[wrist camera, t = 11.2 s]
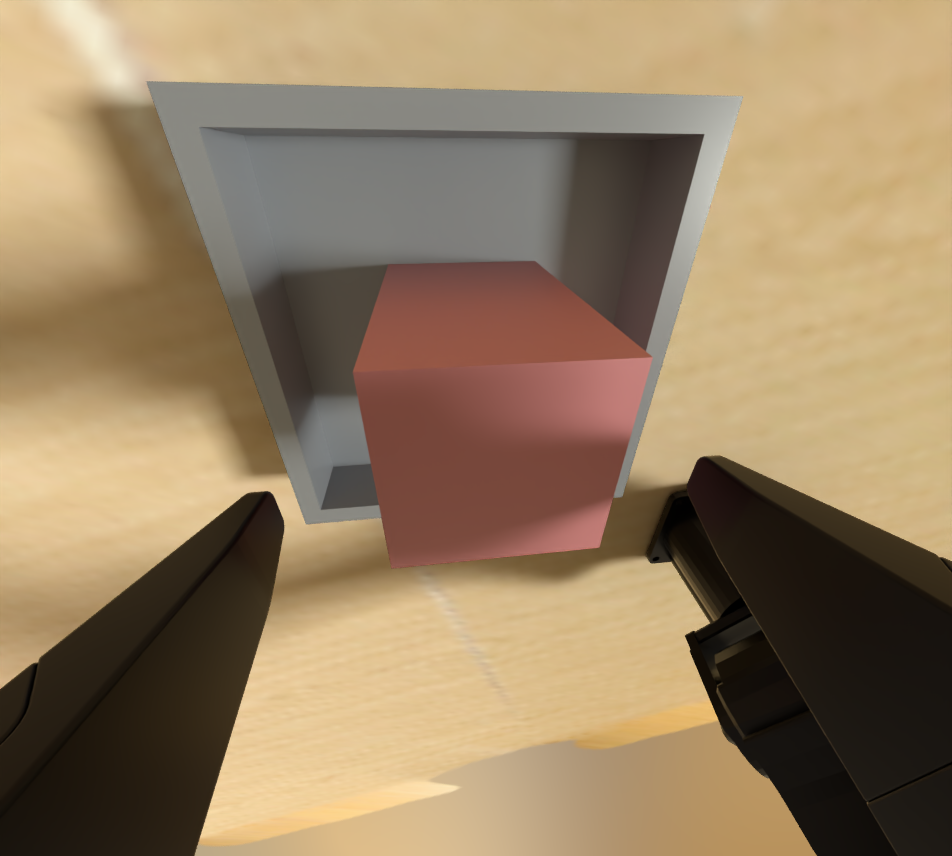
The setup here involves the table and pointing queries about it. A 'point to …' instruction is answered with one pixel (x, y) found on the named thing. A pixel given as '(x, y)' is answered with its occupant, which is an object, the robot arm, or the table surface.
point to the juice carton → (493, 411)
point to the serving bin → (428, 226)
